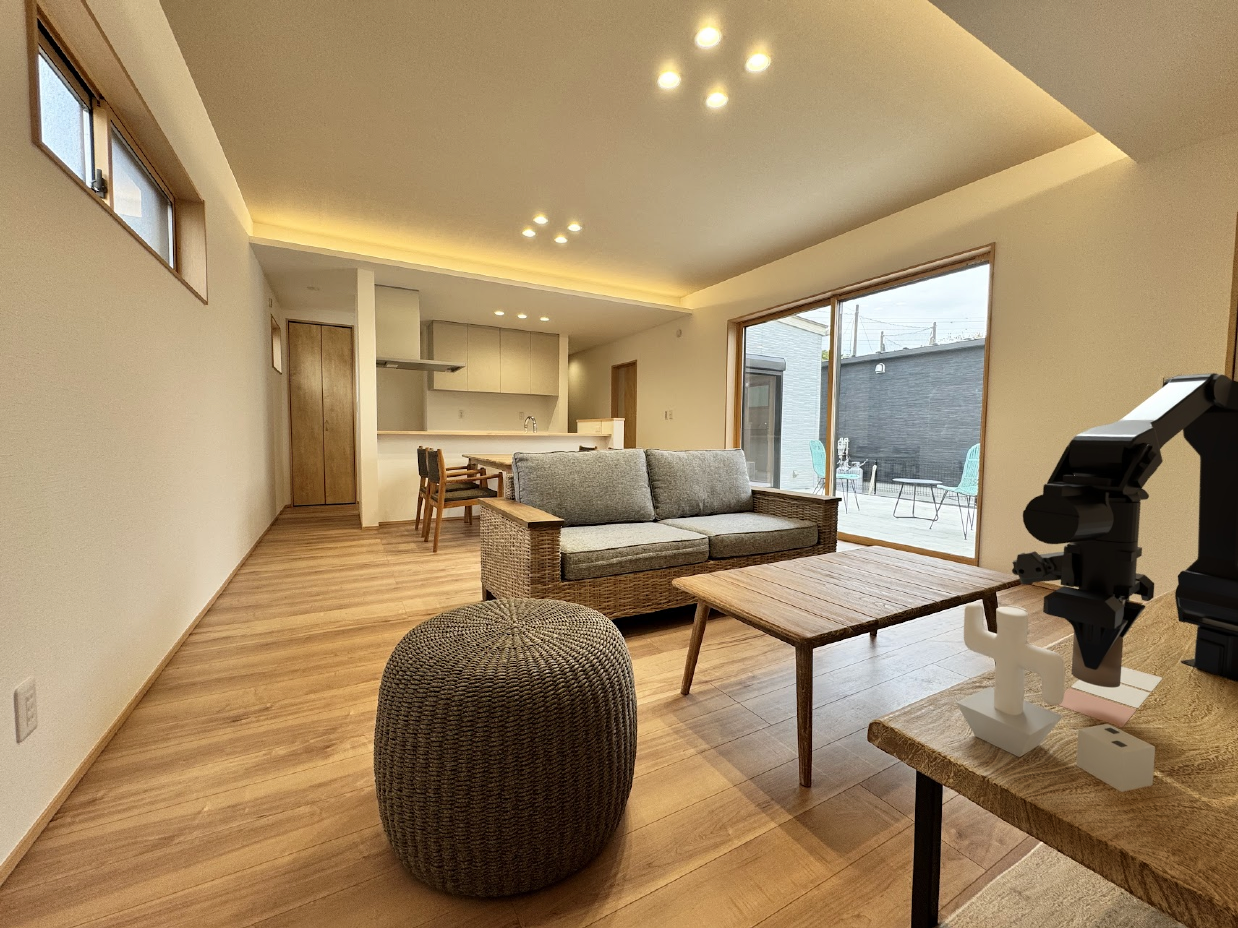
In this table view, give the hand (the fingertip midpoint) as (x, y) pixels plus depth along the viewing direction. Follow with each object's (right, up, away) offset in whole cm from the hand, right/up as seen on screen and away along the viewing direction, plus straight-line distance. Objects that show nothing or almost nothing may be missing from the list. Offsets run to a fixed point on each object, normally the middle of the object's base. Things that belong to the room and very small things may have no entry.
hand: (1096, 663), depth 63 cm
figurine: (-15, -7, -6) cm, 18 cm away
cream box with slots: (-9, -7, -11) cm, 16 cm away
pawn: (0, -2, 0) cm, 2 cm away
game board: (+6, -6, +4) cm, 9 cm away
